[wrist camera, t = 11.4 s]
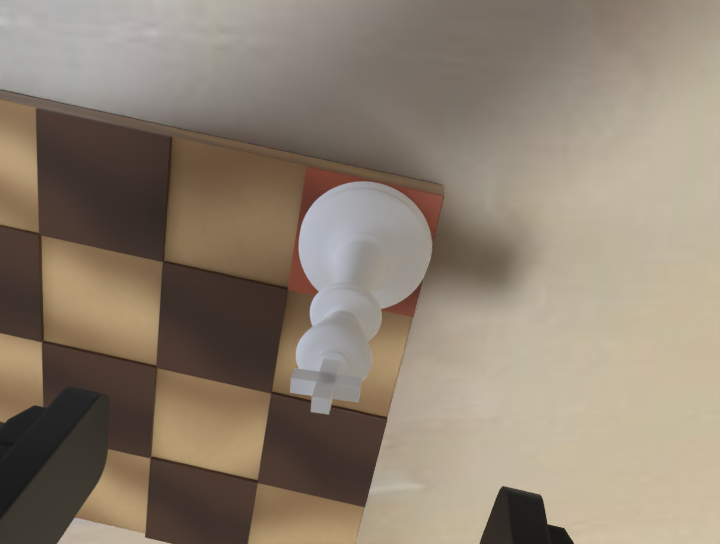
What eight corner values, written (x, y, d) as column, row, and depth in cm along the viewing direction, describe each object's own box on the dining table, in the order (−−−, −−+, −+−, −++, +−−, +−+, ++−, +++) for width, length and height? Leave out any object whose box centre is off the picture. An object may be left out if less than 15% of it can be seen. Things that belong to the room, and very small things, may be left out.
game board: (-72, 74, 25) (-99, 79, 24) (443, 185, 24) (444, 196, 23) (-34, 472, 33) (-53, 492, 32) (349, 560, 33) (345, 583, 32)
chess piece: (303, 172, 23) (217, 297, 14) (441, 189, 23) (441, 328, 14) (296, 295, 26) (216, 472, 16) (422, 312, 25) (412, 501, 16)
